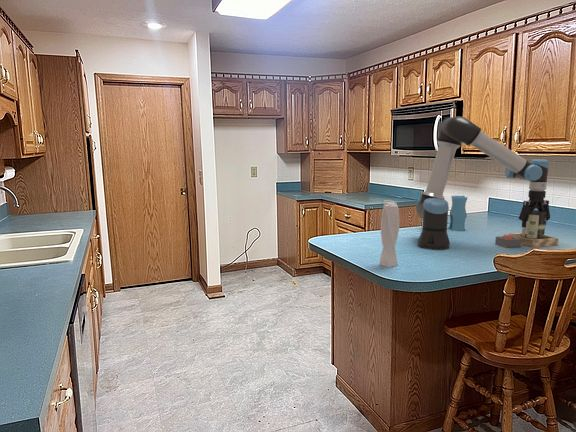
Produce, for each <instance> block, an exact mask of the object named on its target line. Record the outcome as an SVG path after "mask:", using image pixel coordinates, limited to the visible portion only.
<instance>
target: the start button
mask: <svg viewBox="0 0 576 432" xmlns="http://www.w3.org/2000/svg"><path fill="white" fill-rule="evenodd" d="M502 236H503V238H505V239H513V235H508V234H507V233H506V234H503V235H502Z"/></svg>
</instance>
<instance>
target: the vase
mask: <svg viewBox="0 0 576 432" xmlns="http://www.w3.org/2000/svg"><path fill="white" fill-rule="evenodd" d="M468 198H469V197H468V196H465V195H451V207H450V210H449V218H450V219H449V221H450V224H449V226H448V229H451V232H455V231H456V232H457V231H458V232H466V229H465V228H466V227H465V222H466V219H467V210H466V206H467V205H466V204H467V201H468Z"/></svg>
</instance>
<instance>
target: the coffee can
mask: <svg viewBox="0 0 576 432" xmlns="http://www.w3.org/2000/svg"><path fill="white" fill-rule="evenodd" d="M527 213H529V218H528V220H527V221H528V230H527V234H524V233H522V232H521V233H522V237H525V238H529V239H532V240H534V239H544V235H545V233H546V232H545V231H546V226H545V223H546V224H547V220H546V214H547V212H540V211H538V209H534V210H533V211H532V212H527Z"/></svg>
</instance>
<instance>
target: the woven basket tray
mask: <svg viewBox="0 0 576 432" xmlns="http://www.w3.org/2000/svg"><path fill="white" fill-rule="evenodd" d="M507 235H513V237H515V238H519V239H521V244H520V245H523V246H526V247H529V248H543V247H554V246H559V238H557V237H555V236H549V235H546V234H544V239H534V240H532V239H529V238H525V237H522V232H516V233H515V232H514V233H508V234H507Z"/></svg>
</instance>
